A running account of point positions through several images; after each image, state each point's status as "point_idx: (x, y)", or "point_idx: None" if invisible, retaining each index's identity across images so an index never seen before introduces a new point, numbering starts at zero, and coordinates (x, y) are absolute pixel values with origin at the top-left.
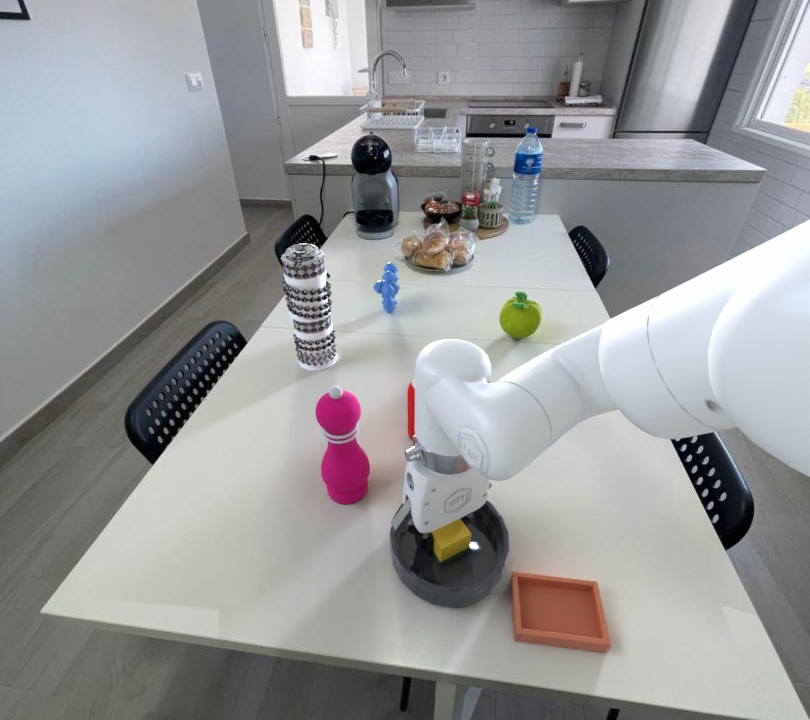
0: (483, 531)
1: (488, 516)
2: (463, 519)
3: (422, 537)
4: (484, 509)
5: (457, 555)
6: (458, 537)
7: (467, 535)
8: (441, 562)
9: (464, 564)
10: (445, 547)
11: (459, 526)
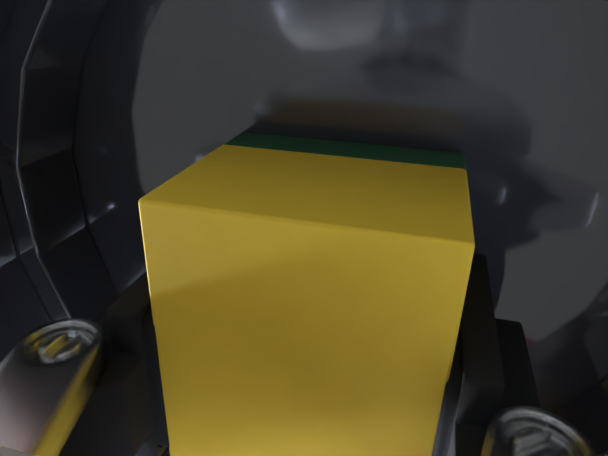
0: (107, 181)
1: (17, 233)
2: (135, 331)
3: (587, 451)
4: (17, 279)
5: (324, 146)
6: (257, 239)
7: (175, 208)
8: (458, 165)
9: (317, 75)
10: (425, 235)
11: (196, 306)
